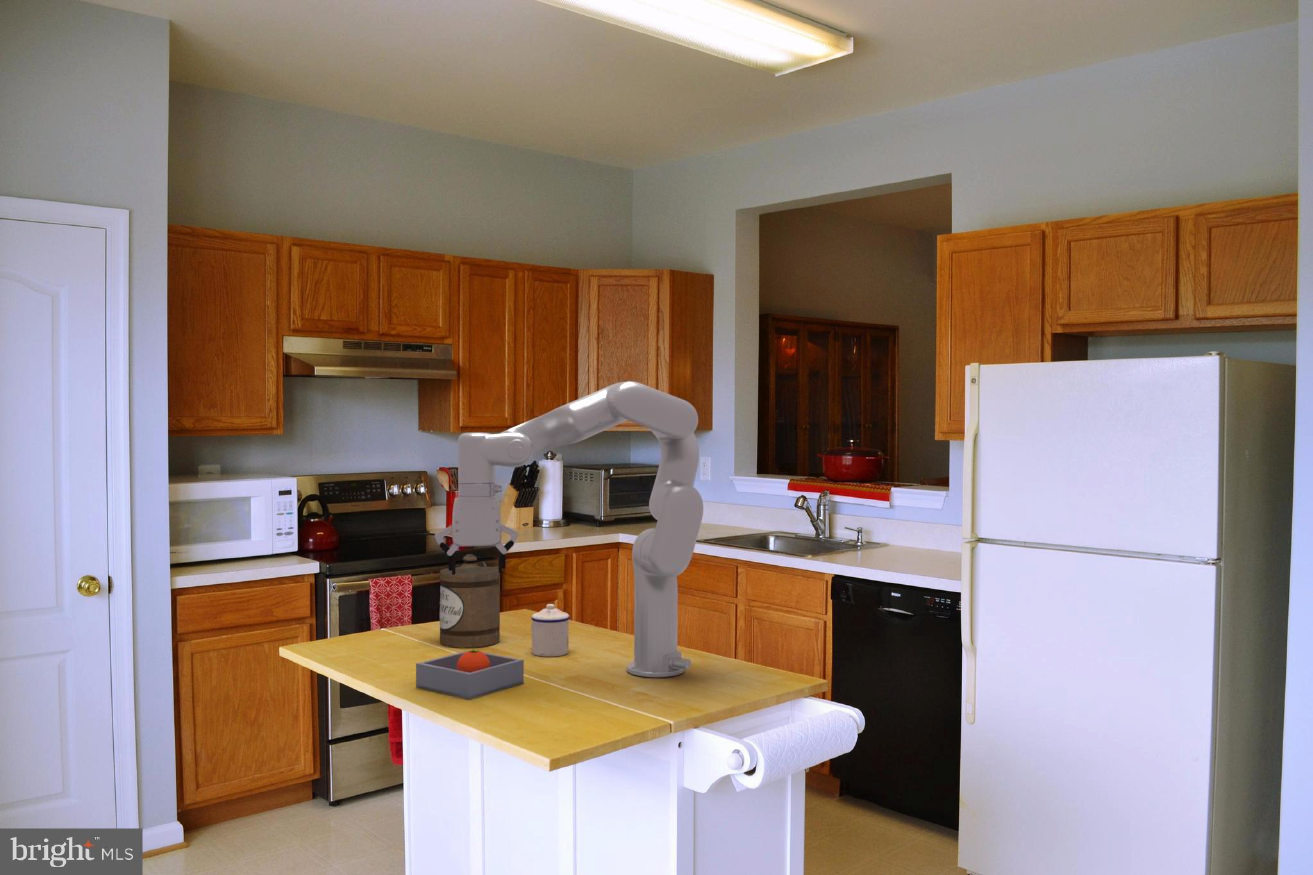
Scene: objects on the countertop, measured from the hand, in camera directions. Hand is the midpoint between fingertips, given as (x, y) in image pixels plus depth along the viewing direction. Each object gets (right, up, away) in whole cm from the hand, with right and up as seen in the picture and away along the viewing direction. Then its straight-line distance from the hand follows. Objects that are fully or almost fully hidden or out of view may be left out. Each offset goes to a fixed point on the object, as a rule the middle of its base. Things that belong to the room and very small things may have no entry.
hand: (477, 573), depth 209 cm
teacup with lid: (+11, -23, +31) cm, 40 cm away
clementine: (-1, -23, -1) cm, 23 cm away
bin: (-1, -23, -1) cm, 23 cm away
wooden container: (-9, -23, +42) cm, 49 cm away
